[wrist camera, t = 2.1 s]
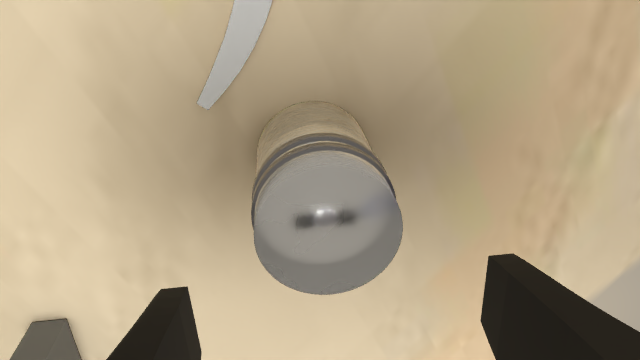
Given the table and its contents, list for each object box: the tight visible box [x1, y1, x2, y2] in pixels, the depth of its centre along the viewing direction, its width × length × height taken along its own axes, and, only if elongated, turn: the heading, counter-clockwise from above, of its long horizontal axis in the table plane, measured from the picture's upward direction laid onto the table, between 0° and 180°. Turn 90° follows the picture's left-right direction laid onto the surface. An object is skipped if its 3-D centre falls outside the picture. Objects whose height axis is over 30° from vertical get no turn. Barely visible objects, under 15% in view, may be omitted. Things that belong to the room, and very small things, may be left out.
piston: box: [251, 101, 403, 295], centre depth 17 cm, size 5×5×6 cm
